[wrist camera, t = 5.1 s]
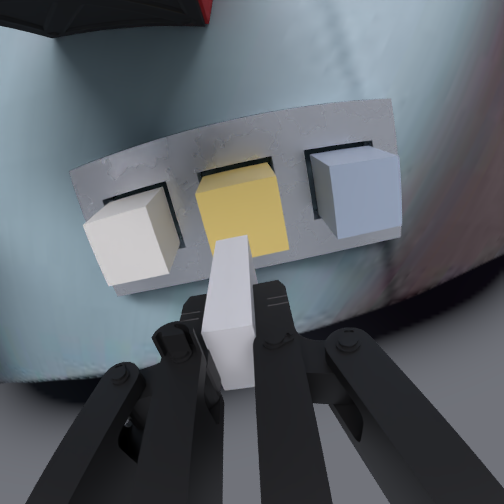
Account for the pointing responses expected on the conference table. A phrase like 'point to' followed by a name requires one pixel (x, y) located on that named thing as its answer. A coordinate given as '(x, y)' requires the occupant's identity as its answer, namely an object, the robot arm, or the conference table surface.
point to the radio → (100, 15)
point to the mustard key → (243, 208)
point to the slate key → (357, 190)
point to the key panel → (236, 151)
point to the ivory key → (134, 237)
